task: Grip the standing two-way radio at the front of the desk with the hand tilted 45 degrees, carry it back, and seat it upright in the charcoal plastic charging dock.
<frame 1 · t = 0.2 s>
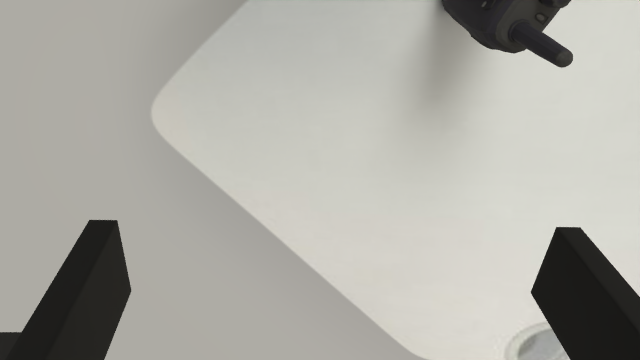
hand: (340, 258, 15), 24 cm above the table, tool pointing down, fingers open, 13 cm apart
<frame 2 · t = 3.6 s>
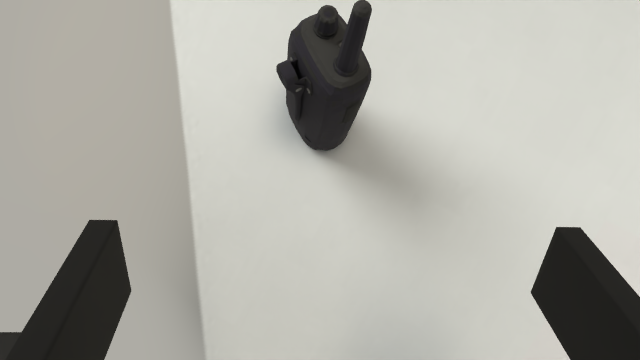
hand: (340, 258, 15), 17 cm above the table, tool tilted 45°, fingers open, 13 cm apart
two-way radio: (309, 123, 33), on the table
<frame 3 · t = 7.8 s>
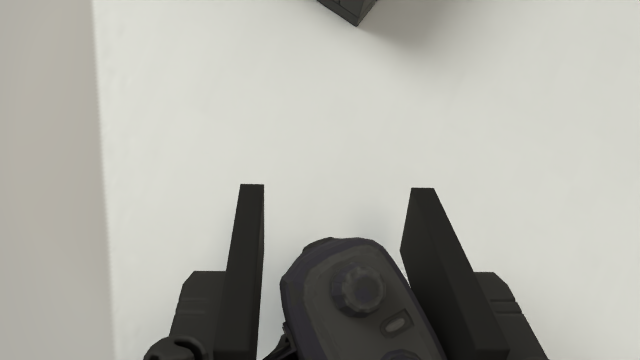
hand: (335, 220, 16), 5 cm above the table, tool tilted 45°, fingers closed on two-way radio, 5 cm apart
two-way radio: (320, 324, 21), on the table, touching gripper
when the fingers open (6 cm above the table, at t = 17.2 s): two-way radio stays where it is, resting on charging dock.
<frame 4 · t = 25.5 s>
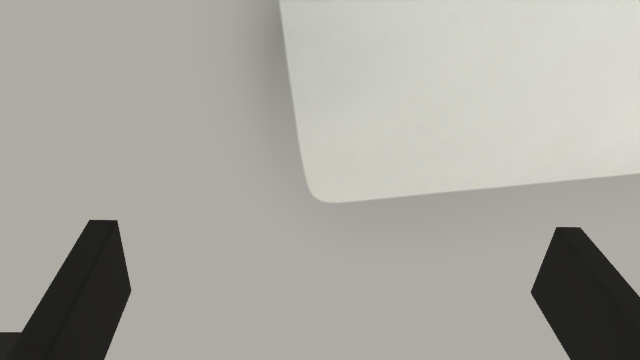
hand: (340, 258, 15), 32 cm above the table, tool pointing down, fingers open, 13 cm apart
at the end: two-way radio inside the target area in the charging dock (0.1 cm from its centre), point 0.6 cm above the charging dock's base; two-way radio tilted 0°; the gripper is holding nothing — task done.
